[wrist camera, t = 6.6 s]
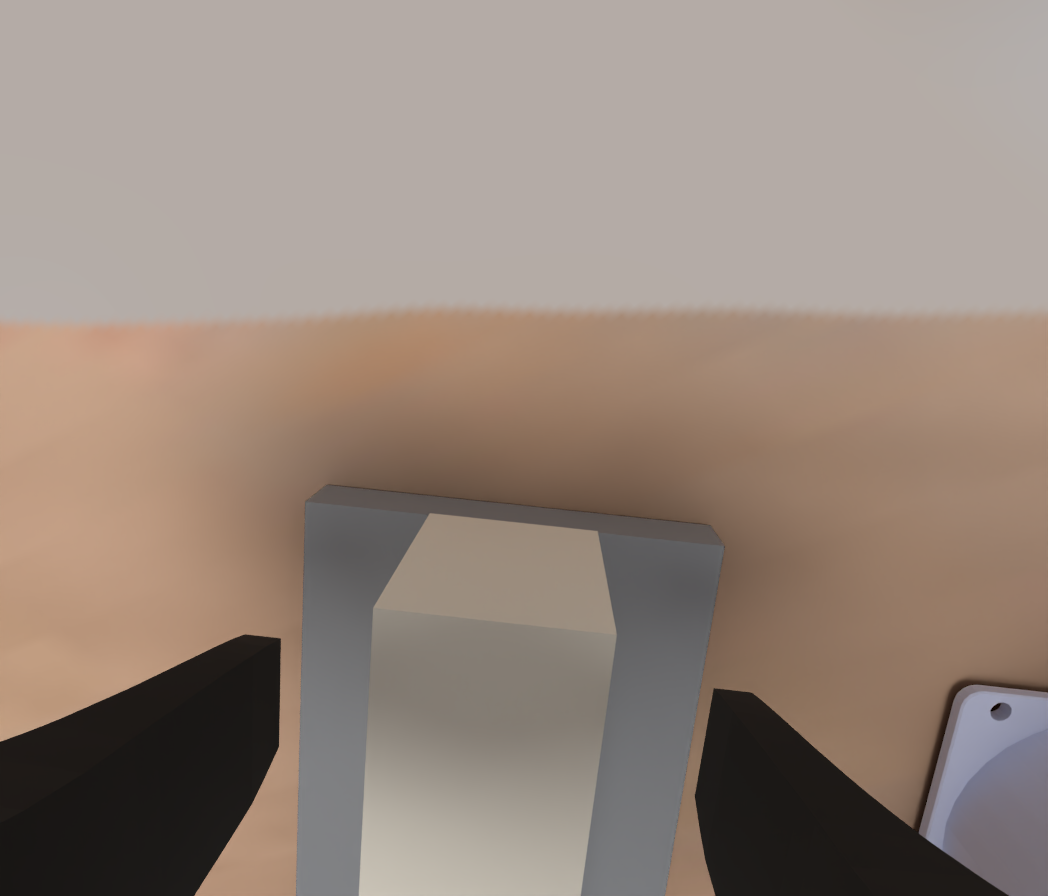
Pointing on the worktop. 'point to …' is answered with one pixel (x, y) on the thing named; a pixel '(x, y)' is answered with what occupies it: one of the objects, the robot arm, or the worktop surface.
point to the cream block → (486, 711)
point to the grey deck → (634, 695)
